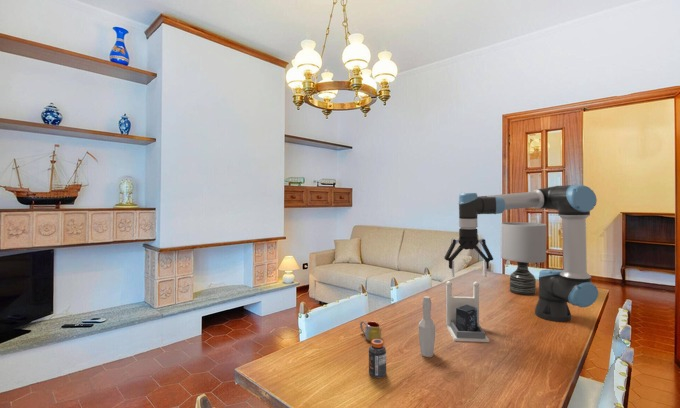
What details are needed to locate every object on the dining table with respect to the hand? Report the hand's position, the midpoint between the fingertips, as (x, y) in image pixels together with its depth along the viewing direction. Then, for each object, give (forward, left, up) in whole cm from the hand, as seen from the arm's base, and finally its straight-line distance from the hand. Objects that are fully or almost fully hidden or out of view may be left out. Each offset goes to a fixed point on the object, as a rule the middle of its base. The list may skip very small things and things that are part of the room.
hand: (468, 276), depth 144 cm
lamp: (-50, -63, -25) cm, 84 cm away
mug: (+43, +9, -25) cm, 51 cm away
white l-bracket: (+1, +2, -25) cm, 25 cm away
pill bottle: (+40, +38, -25) cm, 60 cm away
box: (+1, +2, -24) cm, 24 cm away
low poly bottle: (+21, +22, -25) cm, 40 cm away
